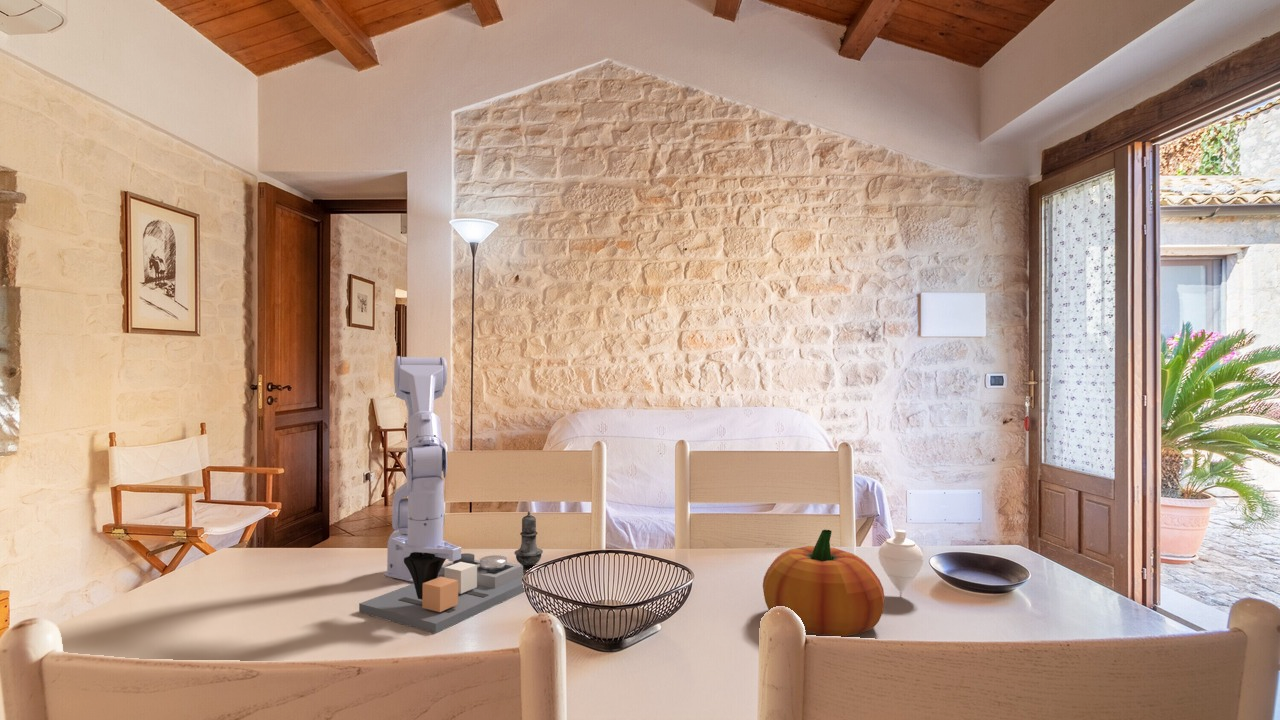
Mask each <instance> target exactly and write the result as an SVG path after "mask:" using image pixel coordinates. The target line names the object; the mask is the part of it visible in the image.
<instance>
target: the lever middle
mask: <svg viewBox="0 0 1280 720" xmlns="http://www.w3.org/2000/svg"><path fill="white" fill-rule="evenodd" d="M444 577H445V578H450V579H455V580H458V593H460V594H462V593H464V592H466V591H469V590H471V589H474V588H476V587H477V565H475V564H470V563H465V562H459V563H456V564H453V565H450V566H447V567H445V568H444Z"/></svg>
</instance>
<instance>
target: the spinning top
mask: <svg viewBox="0 0 1280 720" xmlns="http://www.w3.org/2000/svg"><path fill="white" fill-rule="evenodd" d="M894 534H895V535H894V537H889V538H887V539H886V540H885V541H884V542H883V543H882V544H881V545H880V547H879V549H878V560H879V563H880V566H881V567H882V570H883V571H884V573H885V574H886V576H887V577H888V579H889V581H890V582H891V584H893V586H894V587H895V589H897V590H898V592H899V596H900V597H902V596H903V592H904V591H905V590H906V589H908V587H909V586H910V585H911V584H912V583H913V581H914V580H915V579H916V577H917V576H918V574H919V573H920V571H921V570H922V567H923V565H924V554H923V551H922V550H921V548H920V547H919V546H918V545H917V544H916V542H915V541H913V540H912V539H909V538H907V531H906V530H904V529H895V530H894Z"/></svg>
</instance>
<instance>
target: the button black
mask: <svg viewBox="0 0 1280 720" xmlns="http://www.w3.org/2000/svg"><path fill="white" fill-rule="evenodd" d="M474 560H475V554H474V553H466V552H465V553H461V559H459V560H456V561H453V564H456V563H459V562H465V563H470V564H474Z"/></svg>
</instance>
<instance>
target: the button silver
mask: <svg viewBox="0 0 1280 720" xmlns="http://www.w3.org/2000/svg"><path fill="white" fill-rule="evenodd" d="M507 560H508V558H507V557H506V556H505V555H500V554H499V555H497V554H495V555H487V556H484V557H481V558H479V561H480V569H481V570H484V571H498V570H502V569H504V568H506V567H507V563H508V562H507Z"/></svg>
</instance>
